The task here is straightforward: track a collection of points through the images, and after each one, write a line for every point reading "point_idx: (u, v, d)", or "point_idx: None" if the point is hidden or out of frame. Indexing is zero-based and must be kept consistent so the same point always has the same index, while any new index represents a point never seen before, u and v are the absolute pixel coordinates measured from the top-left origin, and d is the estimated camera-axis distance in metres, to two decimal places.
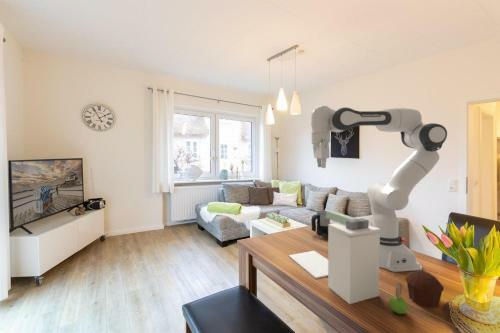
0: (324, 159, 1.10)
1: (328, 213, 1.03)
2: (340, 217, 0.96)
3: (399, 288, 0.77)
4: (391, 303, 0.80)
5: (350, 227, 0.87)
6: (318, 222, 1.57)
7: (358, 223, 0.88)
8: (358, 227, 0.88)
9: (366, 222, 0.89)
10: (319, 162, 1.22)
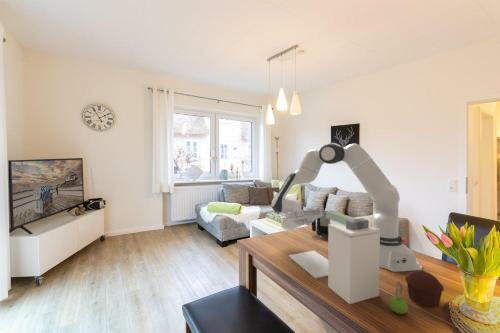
0: (296, 213, 1.19)
1: (328, 213, 1.03)
2: (340, 217, 0.96)
3: (399, 288, 0.77)
4: (391, 303, 0.80)
5: (350, 227, 0.87)
6: (318, 222, 1.57)
7: (358, 223, 0.88)
8: (358, 227, 0.88)
9: (366, 222, 0.89)
10: None
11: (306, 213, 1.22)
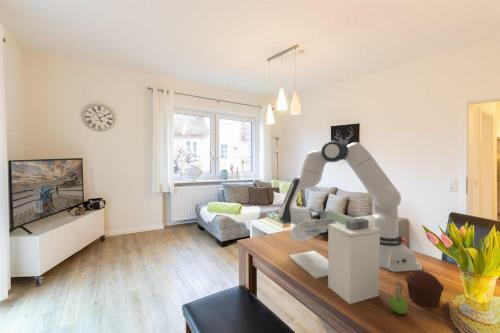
0: (308, 224, 1.10)
1: (328, 213, 1.03)
2: (340, 217, 0.96)
3: (399, 288, 0.77)
4: (391, 303, 0.80)
5: (350, 227, 0.87)
6: None
7: (358, 223, 0.88)
8: (358, 227, 0.88)
9: (366, 222, 0.89)
10: None
11: (318, 223, 1.13)
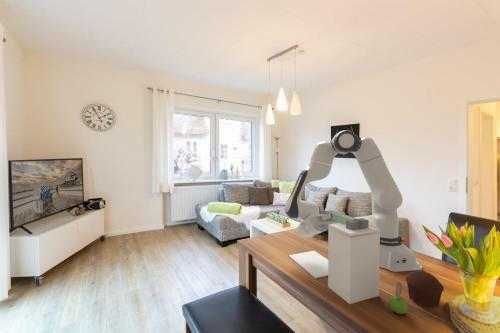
0: (322, 218, 1.03)
1: (328, 213, 1.03)
2: (340, 217, 0.96)
3: (399, 288, 0.77)
4: (391, 303, 0.80)
5: (350, 227, 0.87)
6: None
7: (358, 223, 0.88)
8: (358, 227, 0.88)
9: (366, 222, 0.89)
10: None
11: None
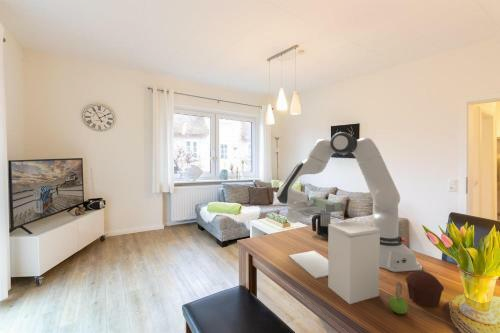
0: (306, 203, 1.14)
1: None
2: (321, 202, 1.07)
3: (399, 288, 0.77)
4: (391, 303, 0.80)
5: (329, 209, 0.99)
6: (318, 222, 1.57)
7: (335, 205, 0.99)
8: (336, 209, 0.99)
9: (343, 205, 1.00)
10: None
11: (312, 203, 1.17)
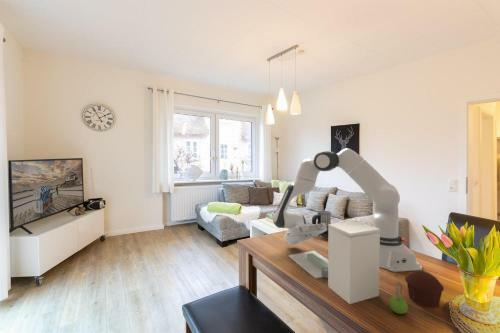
0: (301, 229, 1.16)
1: (308, 256, 1.18)
2: (318, 262, 1.11)
3: (399, 288, 0.77)
4: (391, 303, 0.80)
5: (325, 275, 1.02)
6: (319, 222, 1.57)
7: None
8: None
9: None
10: None
11: (310, 228, 1.19)
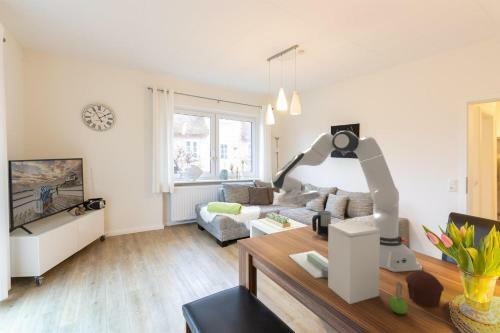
0: (296, 198, 1.19)
1: (308, 256, 1.18)
2: (318, 262, 1.11)
3: (399, 288, 0.77)
4: (391, 303, 0.80)
5: (325, 275, 1.02)
6: (319, 222, 1.57)
7: None
8: None
9: None
10: None
11: (305, 196, 1.23)
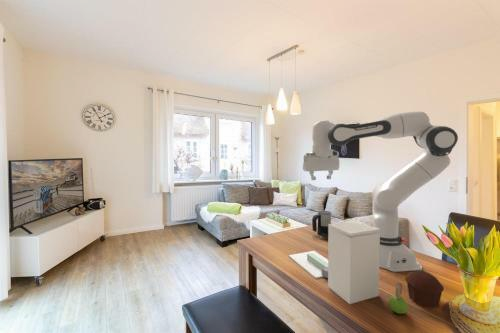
0: (310, 172, 1.18)
1: (308, 256, 1.18)
2: (318, 262, 1.11)
3: (399, 288, 0.77)
4: (391, 303, 0.80)
5: (325, 275, 1.02)
6: (319, 222, 1.57)
7: None
8: None
9: None
10: (329, 174, 1.23)
11: None
